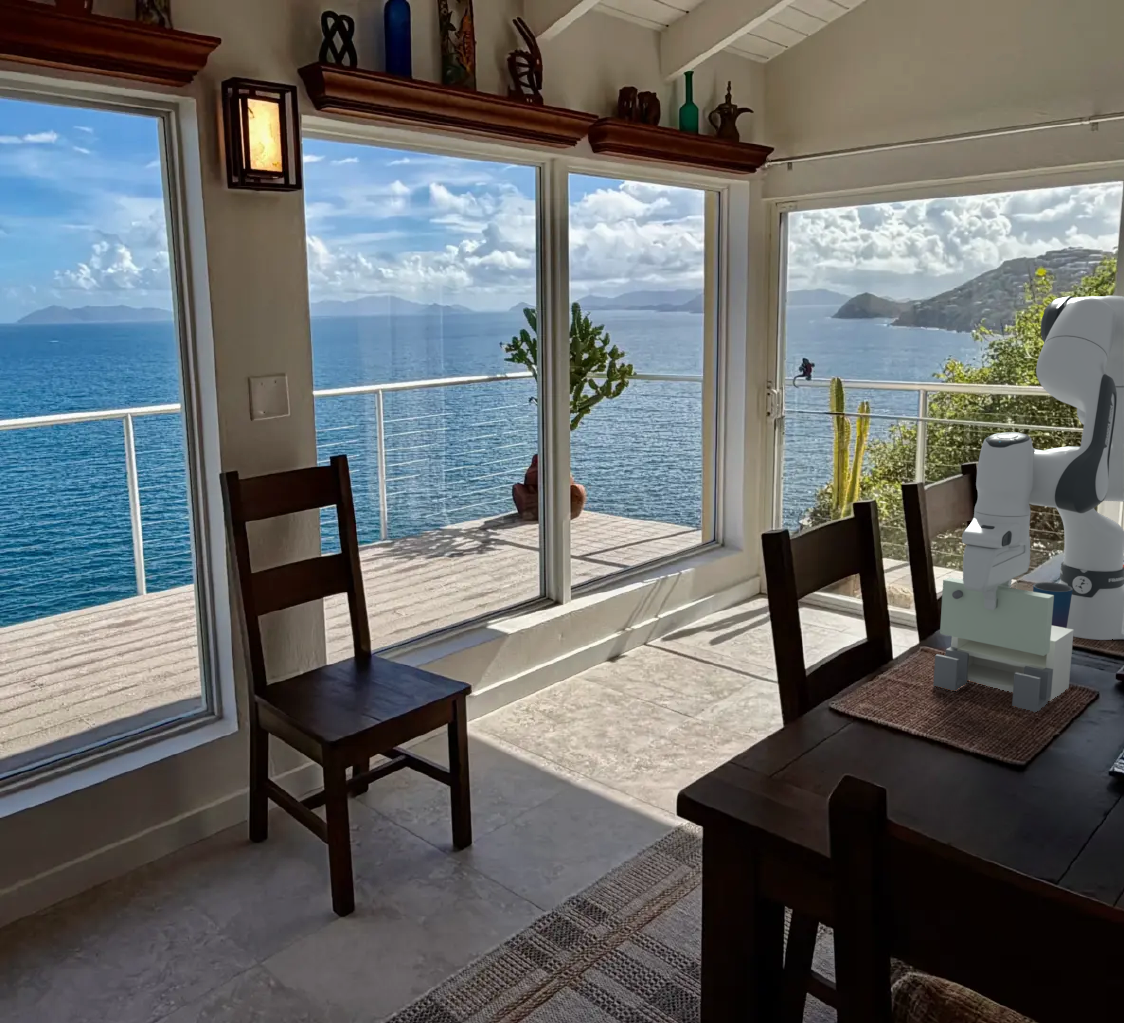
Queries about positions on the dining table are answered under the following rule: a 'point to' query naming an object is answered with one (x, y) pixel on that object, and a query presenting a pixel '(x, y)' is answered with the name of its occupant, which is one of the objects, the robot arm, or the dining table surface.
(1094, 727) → the dining table surface
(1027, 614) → the door
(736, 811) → the dining table surface
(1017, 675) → the cabinet
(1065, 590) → the cup
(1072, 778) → the dining table surface
